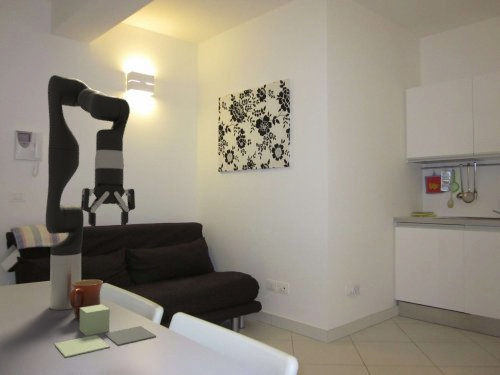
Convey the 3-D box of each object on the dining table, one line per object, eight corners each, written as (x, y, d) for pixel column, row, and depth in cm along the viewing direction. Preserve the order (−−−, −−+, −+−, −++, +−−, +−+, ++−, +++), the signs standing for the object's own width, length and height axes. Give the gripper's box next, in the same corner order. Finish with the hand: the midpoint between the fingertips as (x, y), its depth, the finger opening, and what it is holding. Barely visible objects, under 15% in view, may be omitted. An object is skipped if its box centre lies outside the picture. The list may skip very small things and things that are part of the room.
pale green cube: (79, 330, 110) (79, 307, 110) (101, 325, 114) (102, 304, 114) (86, 336, 106) (86, 312, 106) (109, 331, 109) (109, 308, 109)
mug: (82, 311, 127) (83, 278, 128) (108, 313, 126) (108, 280, 126) (57, 323, 116) (57, 287, 116) (85, 325, 114) (85, 288, 114)
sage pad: (54, 344, 99) (54, 343, 99) (96, 336, 105) (96, 334, 105) (65, 357, 91) (65, 356, 91) (109, 347, 97) (109, 346, 97)
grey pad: (104, 334, 106) (104, 333, 106) (140, 327, 113) (140, 325, 113) (118, 345, 99) (118, 344, 99) (156, 336, 105) (156, 335, 105)
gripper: (128, 169, 120) (128, 224, 120) (78, 167, 111) (77, 226, 111) (139, 168, 115) (138, 225, 114) (87, 165, 106) (86, 228, 105)
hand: (108, 226), depth 113 cm, fingers open, 8 cm apart
